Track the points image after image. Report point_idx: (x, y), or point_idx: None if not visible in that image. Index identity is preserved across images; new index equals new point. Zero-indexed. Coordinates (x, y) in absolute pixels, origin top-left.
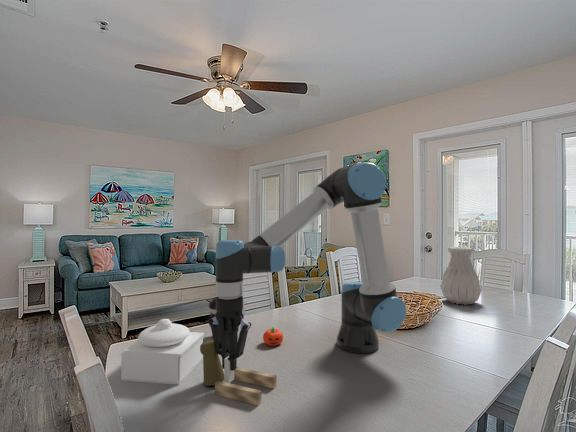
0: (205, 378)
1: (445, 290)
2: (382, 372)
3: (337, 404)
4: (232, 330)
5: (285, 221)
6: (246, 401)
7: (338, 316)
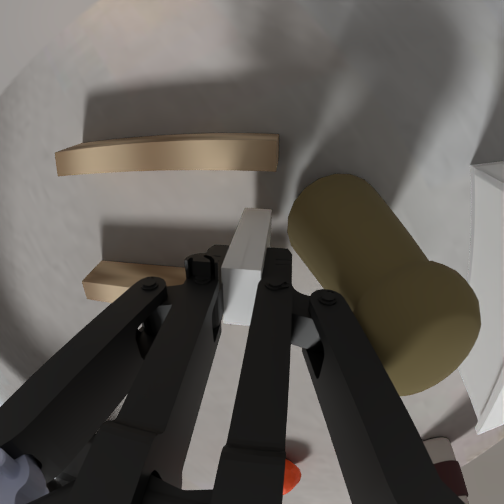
0: (369, 191)
1: None
2: (12, 370)
3: None
4: (93, 464)
5: None
6: (121, 139)
7: None
